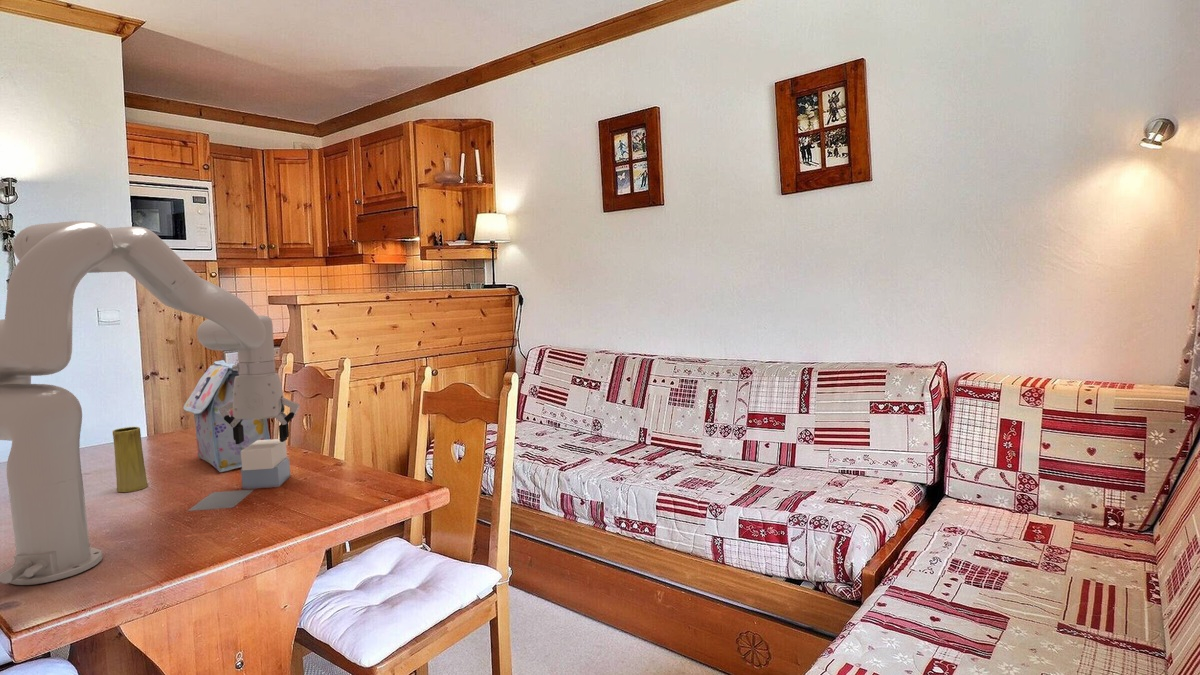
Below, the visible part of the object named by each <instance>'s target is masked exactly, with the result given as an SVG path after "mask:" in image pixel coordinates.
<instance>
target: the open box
mask: <svg viewBox="0 0 1200 675" xmlns="http://www.w3.org/2000/svg"><path fill="white" fill-rule="evenodd" d="M290 466H291V465H290V457H286V458H285V459H284V460H282V461H281V462H280V463H279V464H277V465H276V466H275V467H274V468H272V469H257V470H243V471H242V468H240V476H241V477H240V478H241V490H253V489H262V488H263V489H264V488H265V489H266V488H277V487H278V488H280V487H281V486H282V485H283V484H284V483H285V482H286V481H288V479H289V478H291V467H290Z"/></svg>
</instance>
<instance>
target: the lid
mask: <svg viewBox="0 0 1200 675" xmlns="http://www.w3.org/2000/svg"><path fill="white" fill-rule="evenodd" d="M287 453H288V450H287V440H285V441H284V442H281V441H280V438H275V439H271V438H270V440H257V441H255V442H254V443H252V444H251V445H249V446H248V447H246V448H245V449H243V450H242V451H241V460H242V467H241V469H242V471H243V470H257V469H272V468H274V467H275V466H276V465H277V464H279V463H280V462H281V461H282V460H284V459H285V458H288V454H287Z"/></svg>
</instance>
